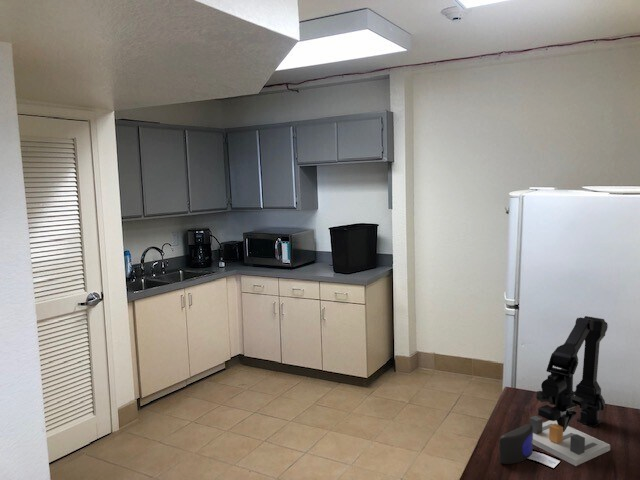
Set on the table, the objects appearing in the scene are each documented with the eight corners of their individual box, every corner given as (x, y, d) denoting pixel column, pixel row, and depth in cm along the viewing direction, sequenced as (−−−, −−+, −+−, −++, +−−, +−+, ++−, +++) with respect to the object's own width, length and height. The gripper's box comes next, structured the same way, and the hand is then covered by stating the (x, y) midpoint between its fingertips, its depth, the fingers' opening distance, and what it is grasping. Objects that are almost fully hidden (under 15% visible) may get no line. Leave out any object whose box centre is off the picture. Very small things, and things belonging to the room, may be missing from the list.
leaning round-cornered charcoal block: (509, 469, 165) (510, 441, 164) (497, 463, 169) (497, 435, 168) (540, 453, 174) (541, 426, 173) (528, 447, 178) (528, 421, 177)
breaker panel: (552, 424, 194) (552, 406, 193) (610, 450, 174) (610, 430, 174) (519, 437, 185) (519, 418, 184) (575, 466, 166) (576, 445, 165)
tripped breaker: (554, 437, 180) (555, 423, 179) (562, 441, 177) (563, 427, 176) (549, 439, 178) (549, 425, 178) (556, 443, 175) (557, 429, 175)
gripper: (560, 374, 188) (559, 415, 190) (524, 385, 179) (524, 429, 181) (589, 384, 179) (587, 428, 181) (553, 397, 170) (552, 442, 172)
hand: (562, 431), depth 179 cm, fingers closed
